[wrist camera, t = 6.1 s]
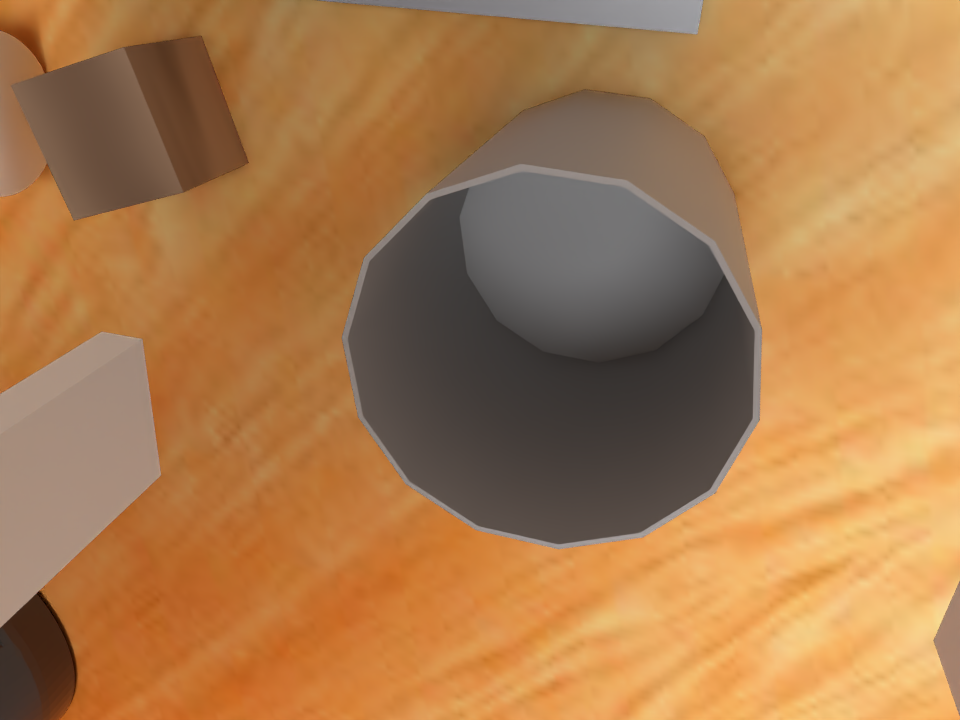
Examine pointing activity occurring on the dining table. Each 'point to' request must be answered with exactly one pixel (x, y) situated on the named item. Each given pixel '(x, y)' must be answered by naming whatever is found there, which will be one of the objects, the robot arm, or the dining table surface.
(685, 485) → the cup
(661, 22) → the tray
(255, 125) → the dining table surface
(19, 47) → the canister
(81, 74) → the walnut block
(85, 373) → the robot arm
